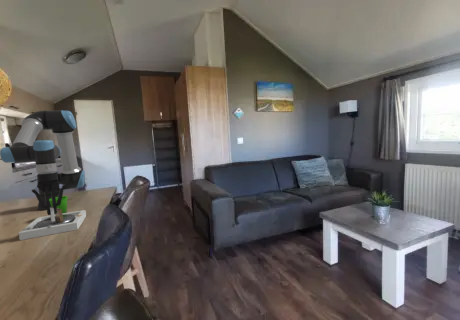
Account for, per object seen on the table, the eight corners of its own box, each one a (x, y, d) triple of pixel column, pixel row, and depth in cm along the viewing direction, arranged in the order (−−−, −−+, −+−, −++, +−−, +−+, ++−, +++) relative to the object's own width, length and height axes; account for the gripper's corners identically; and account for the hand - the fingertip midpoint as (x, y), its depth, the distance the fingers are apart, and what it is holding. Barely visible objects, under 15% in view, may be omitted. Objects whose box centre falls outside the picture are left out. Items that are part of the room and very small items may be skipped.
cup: (60, 219, 126) (57, 200, 124) (47, 219, 127) (44, 200, 126) (74, 213, 134) (71, 195, 133) (61, 213, 136) (59, 195, 135)
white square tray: (38, 223, 120) (37, 216, 120) (86, 215, 129) (85, 209, 129) (19, 240, 100) (18, 232, 100) (77, 229, 109) (76, 221, 108)
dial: (31, 226, 112) (28, 210, 111) (68, 215, 125) (66, 201, 125) (42, 232, 103) (40, 215, 102) (81, 220, 117) (78, 205, 116)
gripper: (29, 175, 99) (36, 226, 101) (65, 171, 108) (70, 218, 110) (28, 174, 104) (34, 223, 106) (62, 170, 113) (67, 215, 115)
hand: (53, 220), depth 108 cm, fingers closed
